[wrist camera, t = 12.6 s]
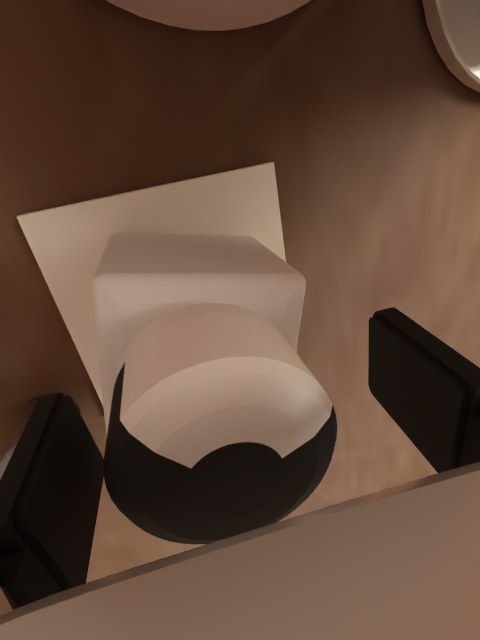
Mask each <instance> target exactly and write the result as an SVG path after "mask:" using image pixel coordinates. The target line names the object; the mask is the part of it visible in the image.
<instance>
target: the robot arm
mask: <svg viewBox="0 0 480 640" xmlns="http://www.w3.org/2000/svg"><path fill="white" fill-rule="evenodd" d="M422 2H423V7H424V12H425V17H426V22H427V26H428V29H429V32H430V34H431V37H432V39H433V42H434V45H435V47H436V50H437V52H438V53H439V55H440V57H441V58H442V60H443V61H444V63H445V64H446V66H447V68H448V69H449V71H450V72H451V73H452V74H454V75H455V76H456V77H457V78H458V79H459V80H460V81H461V82H462V83H463V84H464V85H466V86H467V87H469V88H471V89H473V90H475V91H477V92H479V93H480V0H422ZM368 383H369V388H370V391H371V393H372V394H373V396H374V397H375V398H376V399H377V401H378V402H379V403H380V404H381V405H382V407H383V408H384V409H385V410H386V411H387V413H388V414H389V415H390V416H391V417H392V419H393V420H394V421H395V422H396V423H397V424H398V426H399V427H400V428H401V429H402V430H403V432H404V433H405V434H406V435H407V436H408V438H409V439H410V440H411V441H412V442H413V444H414V445H415V446H416V447H417V448H418V450H419V451H420V452H421V453H422V454H423V456H424V457H425V458H426V459H427V460H428V462H429V463H430V464H431V465H432V466H433V468H434V469H435V470H436V471H437V472H438V474H434V475H431V476H427V477H424V478H421V479H418V480H414V481H411V482H408V483H404V484H401V485H398V486H395V487H391V488H388V489H385V490H381V491H378V492H375V493H372V494H368V495H365V496H362V497H358V498H355V499H352V500H349V501H345V502H342V503H339V504H335V505H332V506H329V507H326V508H322V509H319V510H316V511H313V512H310V513H306V514H303V515H300V516H297V517H293V518H290V519H287V520H284V521H280V522H277V523H274V524H271V525H268V526H264V527H261V528H258V529H255V530H252V531H248V532H245V533H242V534H239V535H235V536H232V537H229V538H226V539H223V540H219V541H216V542H213V543H210V544H207V545H204V546H200V547H197V548H194V549H191V550H188V551H185V552H182V553H178V554H175V555H172V556H169V557H166V558H163V559H159V560H156V561H153V562H150V563H147V564H144V565H140V566H137V567H134V568H131V569H128V570H125V571H122V572H119V573H116V574H113V575H110V576H107V577H104V578H101V579H98V580H95V581H92V582H89V583H86V578H87V572H88V566H89V560H90V554H91V548H92V542H93V536H94V530H95V524H96V518H97V512H98V506H99V500H100V495H101V489H102V483H103V477H104V459H103V457H102V455H101V453H100V451H99V449H98V447H97V445H96V443H95V441H94V440H93V438H92V436H91V434H90V432H89V430H88V428H87V426H86V424H85V422H84V420H83V418H82V417H81V415H80V413H79V411H78V409H77V407H76V405H75V403H74V401H73V399H72V398H71V397H70V396H64V394H62V393H57V394H53V395H49V396H45V397H42V398H39V399H38V401H37V403H36V405H35V407H34V409H33V411H32V414H31V416H30V418H29V420H28V422H27V424H26V426H25V428H24V431H23V433H22V435H21V437H20V439H19V441H18V443H17V445H16V448H15V450H14V452H13V454H12V456H11V458H10V460H9V462H8V465H7V467H6V469H5V471H4V473H3V475H2V477H1V479H0V640H480V368H479V367H477V366H476V365H475V364H473V363H472V362H470V361H469V360H468V359H466V358H465V357H463V356H462V355H461V354H459V353H458V352H456V351H455V350H454V349H452V348H451V347H449V346H448V345H447V344H445V343H444V342H442V341H441V340H440V339H438V338H437V337H435V336H434V335H432V334H431V333H430V332H428V331H427V330H425V329H424V328H423V327H421V326H420V325H418V324H417V323H416V322H414V321H413V320H411V319H410V318H409V317H407V316H406V315H404V314H403V313H402V312H400V311H399V310H397V309H396V308H394V307H393V308H388V309H384V310H380V311H376V312H375V313H374V315H373V317H371V318H370V320H369V378H368Z"/></svg>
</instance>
